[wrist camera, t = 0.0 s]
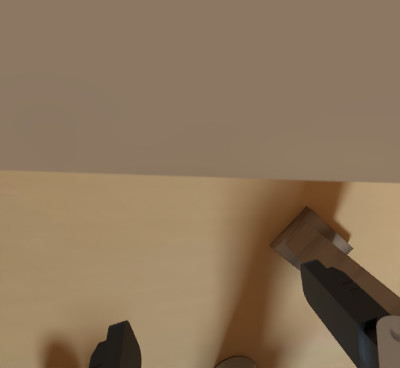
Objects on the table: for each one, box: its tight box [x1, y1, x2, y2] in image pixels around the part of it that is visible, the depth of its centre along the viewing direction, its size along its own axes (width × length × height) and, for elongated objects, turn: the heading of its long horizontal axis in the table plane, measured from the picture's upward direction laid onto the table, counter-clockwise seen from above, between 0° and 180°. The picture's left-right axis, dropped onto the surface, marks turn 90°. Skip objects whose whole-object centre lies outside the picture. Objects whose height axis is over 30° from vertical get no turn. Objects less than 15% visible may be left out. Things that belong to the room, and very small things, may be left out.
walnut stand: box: [270, 207, 400, 316], centre depth 34 cm, size 12×9×30 cm
